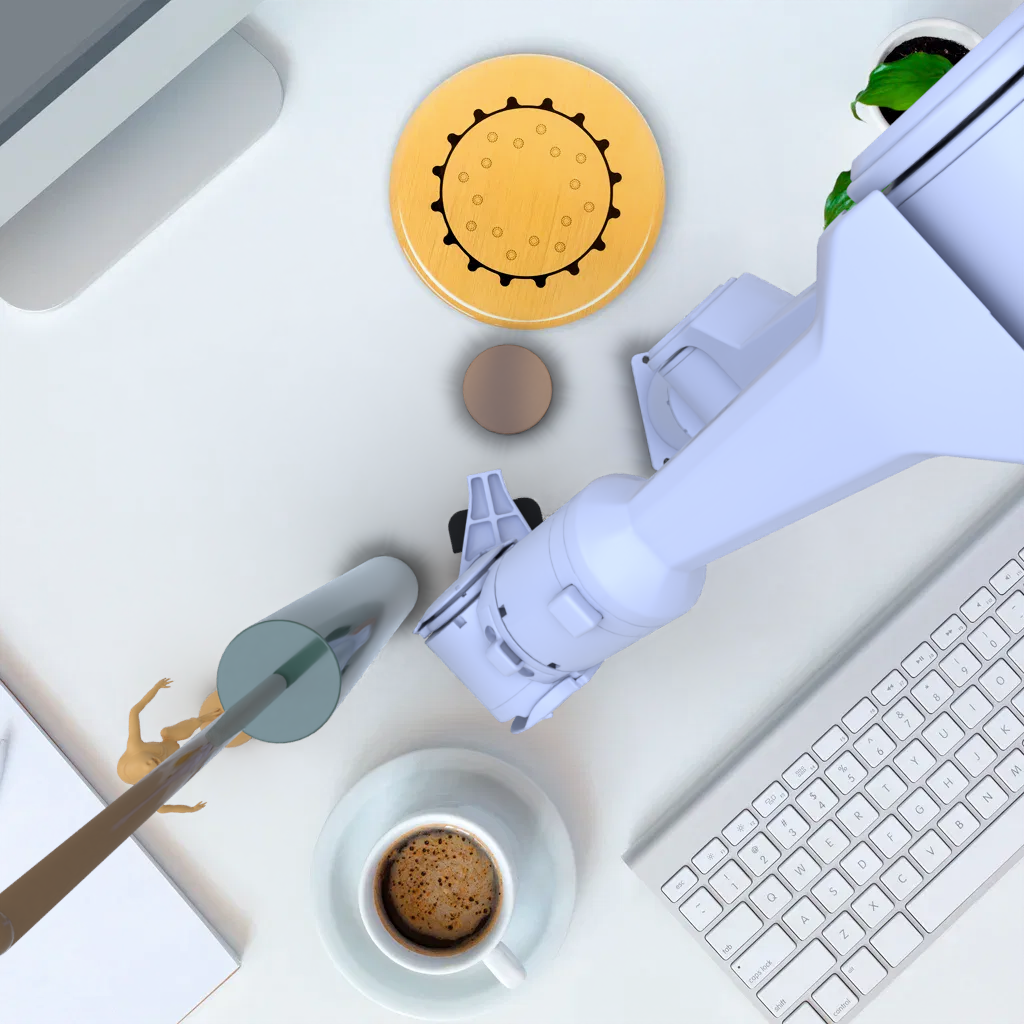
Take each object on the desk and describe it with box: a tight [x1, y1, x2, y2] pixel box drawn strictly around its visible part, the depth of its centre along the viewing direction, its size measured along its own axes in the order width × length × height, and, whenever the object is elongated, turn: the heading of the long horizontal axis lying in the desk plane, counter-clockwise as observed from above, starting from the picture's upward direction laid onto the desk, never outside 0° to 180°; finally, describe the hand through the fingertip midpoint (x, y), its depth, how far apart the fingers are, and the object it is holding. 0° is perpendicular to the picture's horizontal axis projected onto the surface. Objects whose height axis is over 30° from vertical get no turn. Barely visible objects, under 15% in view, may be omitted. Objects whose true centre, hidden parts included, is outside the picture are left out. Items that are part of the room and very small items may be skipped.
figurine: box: [116, 677, 252, 814], centre depth 59 cm, size 8×6×12 cm
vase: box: [0, 555, 419, 957], centre depth 40 cm, size 5×5×50 cm
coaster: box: [462, 344, 553, 435], centre depth 64 cm, size 6×6×1 cm
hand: (509, 580), depth 63 cm, fingers open, 5 cm apart
